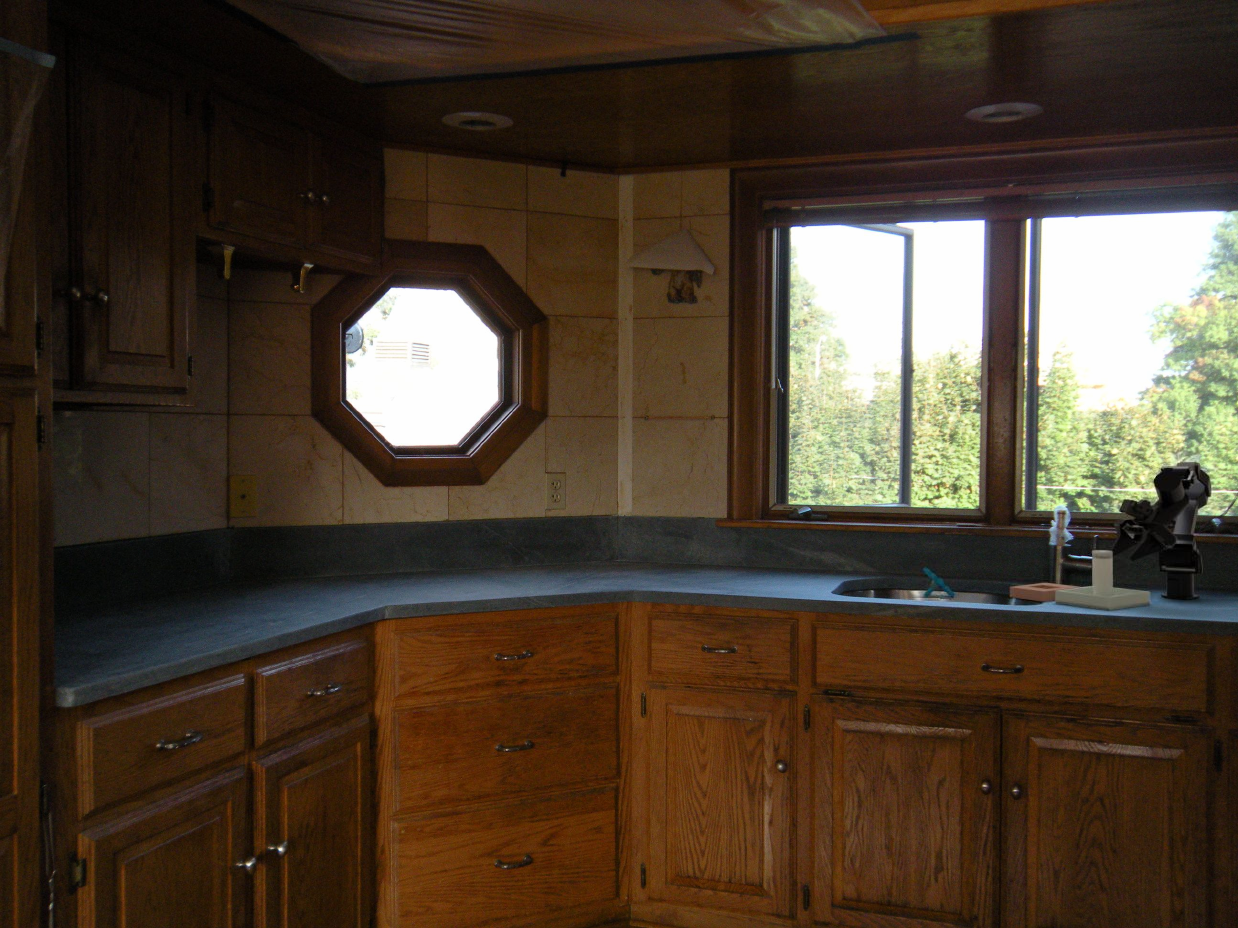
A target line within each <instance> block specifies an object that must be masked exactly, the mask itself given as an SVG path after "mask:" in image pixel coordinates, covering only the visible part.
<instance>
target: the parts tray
mask: <svg viewBox="0 0 1238 928" xmlns="http://www.w3.org/2000/svg"><path fill="white" fill-rule="evenodd" d="M1054 601H1055V604H1059V605H1065V604H1067V606H1072V605H1075V606H1074V607H1080V606H1082V607H1081V608H1087V607H1089V608H1088V609H1094V608H1095V610H1102V609H1106V610H1105V611H1109V610H1110V611H1114V609H1116V610H1122V609H1128V608H1135V607H1142V606H1148V605H1151V591H1145V590H1138V589H1130V588H1121V587H1113V596H1110V597H1106V596H1098V595H1093V585H1091V586H1090V585H1089V586H1083V587H1081V586H1080V588H1073V589H1065V590H1057V591H1055V600H1054Z"/></svg>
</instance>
